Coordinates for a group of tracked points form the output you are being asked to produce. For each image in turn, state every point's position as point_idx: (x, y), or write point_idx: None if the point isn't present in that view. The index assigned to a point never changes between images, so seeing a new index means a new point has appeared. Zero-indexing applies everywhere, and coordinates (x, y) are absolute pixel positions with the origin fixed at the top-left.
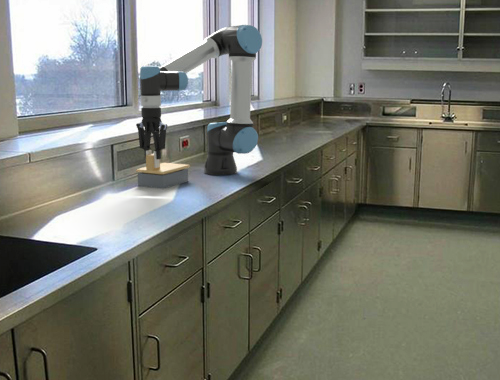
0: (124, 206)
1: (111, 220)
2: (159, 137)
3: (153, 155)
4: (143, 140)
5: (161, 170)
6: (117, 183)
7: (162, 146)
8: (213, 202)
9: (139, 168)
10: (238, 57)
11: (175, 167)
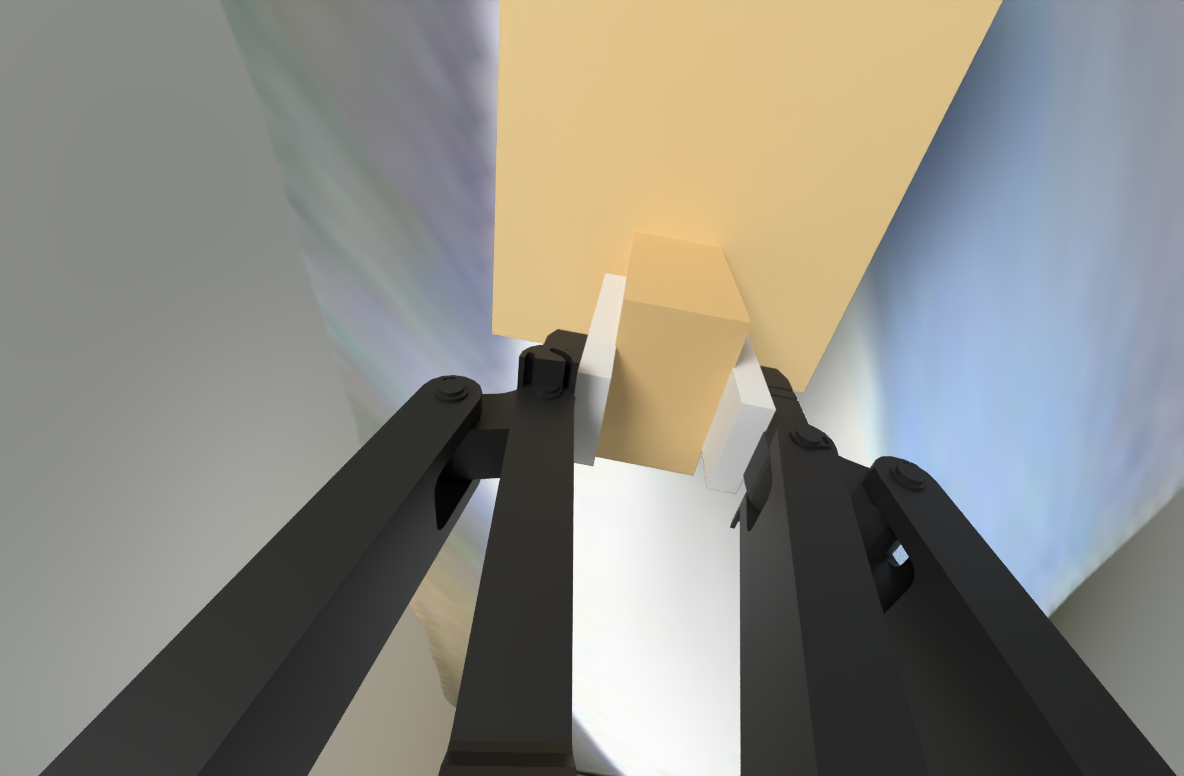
0: (689, 608)
1: (726, 709)
2: (895, 675)
3: (701, 452)
4: (419, 531)
5: (766, 334)
6: (286, 149)
7: (906, 572)
8: (1142, 511)
9: (493, 287)
10: None
11: (911, 65)
